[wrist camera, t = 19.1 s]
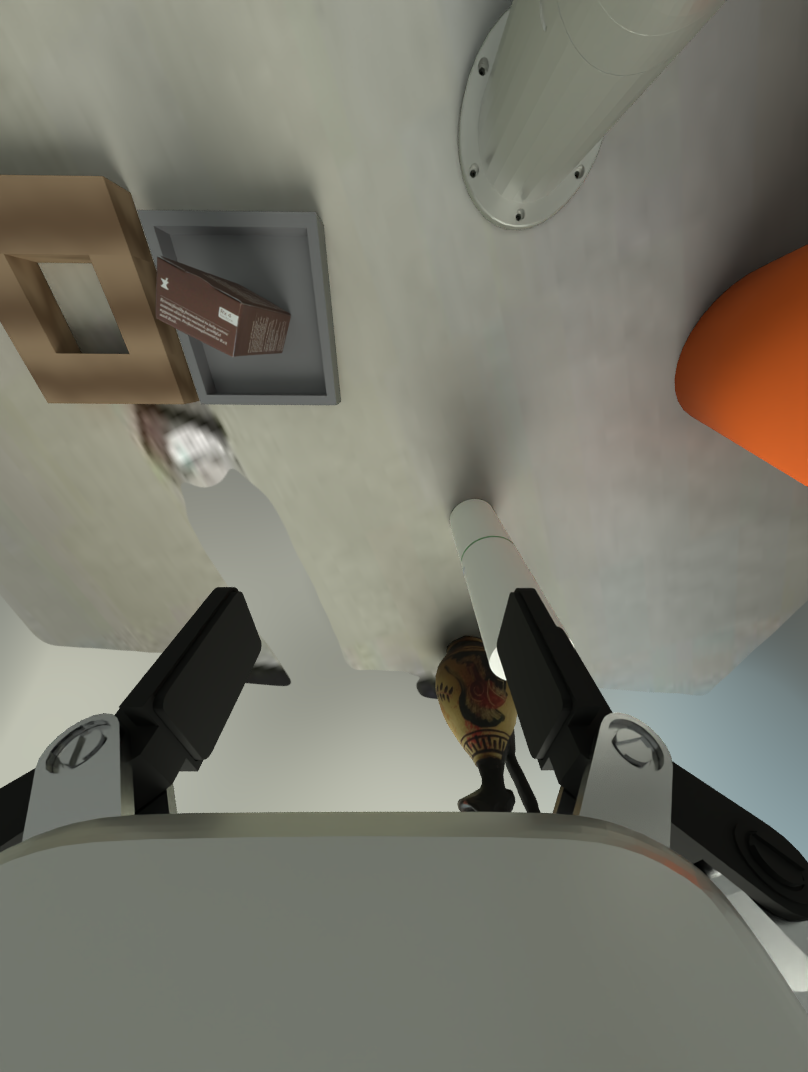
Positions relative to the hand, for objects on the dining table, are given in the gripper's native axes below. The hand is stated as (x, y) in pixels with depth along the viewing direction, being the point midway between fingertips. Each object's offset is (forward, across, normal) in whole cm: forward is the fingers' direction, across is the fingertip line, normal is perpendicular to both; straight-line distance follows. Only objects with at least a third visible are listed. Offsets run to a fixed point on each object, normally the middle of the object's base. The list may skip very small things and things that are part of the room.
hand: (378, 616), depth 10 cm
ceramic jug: (+34, -16, +47) cm, 60 cm away
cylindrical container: (+34, -12, +14) cm, 38 cm away
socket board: (+33, +33, -12) cm, 48 cm away
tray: (+33, +15, -11) cm, 38 cm away
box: (+33, +15, -11) cm, 38 cm away
